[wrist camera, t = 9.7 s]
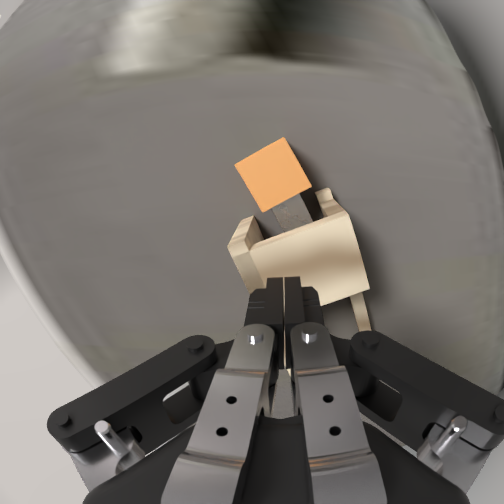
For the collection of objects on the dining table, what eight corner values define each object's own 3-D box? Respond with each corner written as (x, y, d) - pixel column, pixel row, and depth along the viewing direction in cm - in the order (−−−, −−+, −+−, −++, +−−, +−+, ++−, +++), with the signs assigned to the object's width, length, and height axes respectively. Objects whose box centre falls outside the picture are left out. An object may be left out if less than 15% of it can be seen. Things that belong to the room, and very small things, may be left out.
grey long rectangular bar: (339, 279, 33) (344, 293, 30) (316, 289, 34) (319, 304, 30) (296, 187, 30) (298, 192, 26) (271, 199, 30) (270, 205, 27)
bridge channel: (373, 347, 36) (389, 390, 28) (306, 368, 38) (309, 414, 30) (327, 187, 29) (344, 202, 21) (241, 220, 31) (227, 246, 23)
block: (306, 180, 29) (311, 186, 24) (265, 202, 30) (262, 212, 26) (283, 138, 28) (283, 136, 23) (241, 161, 29) (234, 164, 24)
